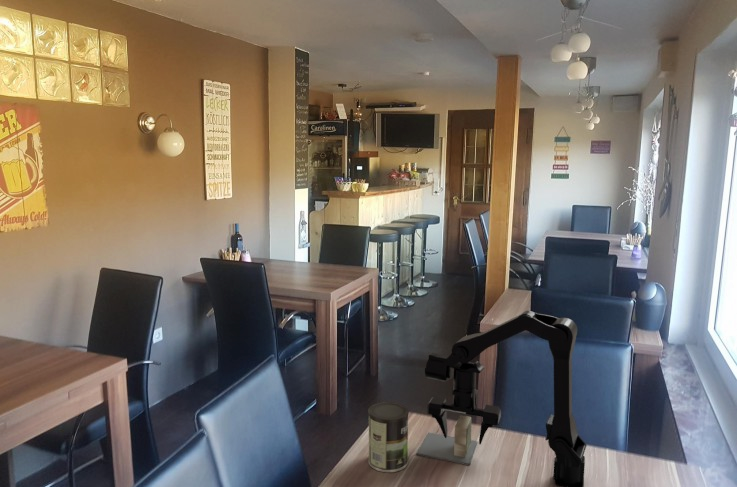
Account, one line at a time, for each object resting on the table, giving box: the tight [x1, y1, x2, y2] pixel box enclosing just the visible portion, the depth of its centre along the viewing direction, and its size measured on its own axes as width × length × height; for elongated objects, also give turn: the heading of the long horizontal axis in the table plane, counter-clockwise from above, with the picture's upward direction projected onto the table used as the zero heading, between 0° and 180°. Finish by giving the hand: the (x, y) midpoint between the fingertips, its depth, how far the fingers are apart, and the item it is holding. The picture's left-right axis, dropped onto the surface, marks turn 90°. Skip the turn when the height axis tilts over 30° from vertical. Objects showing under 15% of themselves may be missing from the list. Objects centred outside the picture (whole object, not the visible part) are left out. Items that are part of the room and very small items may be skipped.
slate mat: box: [416, 431, 479, 466], centre depth 146 cm, size 14×12×1 cm
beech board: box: [454, 414, 472, 457], centre depth 144 cm, size 3×7×8 cm, turn 159°
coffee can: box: [367, 401, 410, 473], centre depth 139 cm, size 10×10×14 cm
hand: (462, 440), depth 144 cm, fingers open, 9 cm apart
